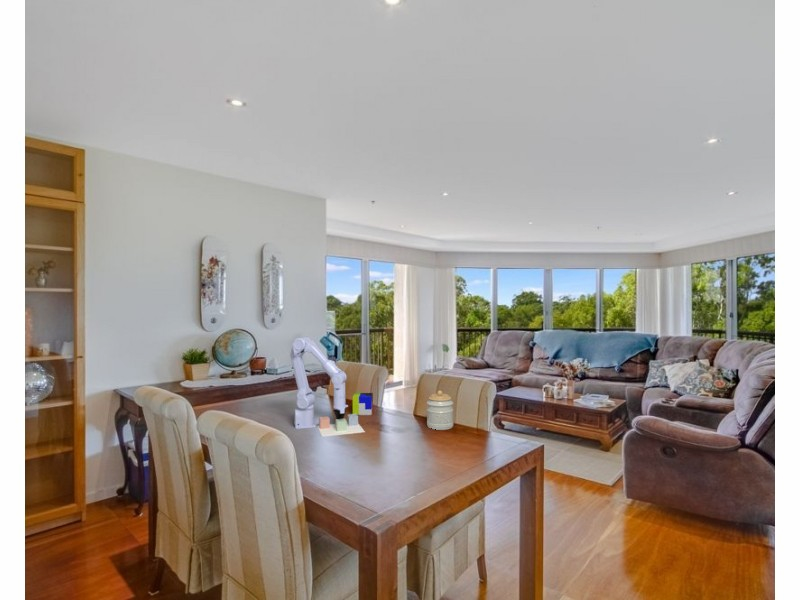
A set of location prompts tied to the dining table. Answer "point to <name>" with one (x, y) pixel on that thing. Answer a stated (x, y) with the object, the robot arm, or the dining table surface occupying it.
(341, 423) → the sage block
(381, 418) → the dining table surface
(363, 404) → the puzzle toy
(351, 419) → the slate block
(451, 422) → the jar
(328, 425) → the terracotta block
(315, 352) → the robot arm
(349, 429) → the mat
